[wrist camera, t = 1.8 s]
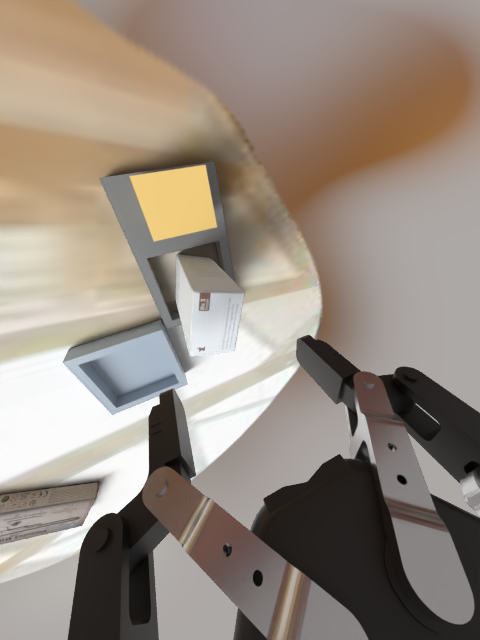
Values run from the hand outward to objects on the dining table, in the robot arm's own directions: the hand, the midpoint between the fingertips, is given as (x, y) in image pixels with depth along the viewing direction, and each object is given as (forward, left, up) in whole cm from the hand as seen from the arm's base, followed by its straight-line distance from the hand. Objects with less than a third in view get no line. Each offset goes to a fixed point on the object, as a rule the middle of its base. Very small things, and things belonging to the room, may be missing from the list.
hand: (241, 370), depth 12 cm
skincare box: (0, 0, -17) cm, 17 cm away
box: (+33, -38, -18) cm, 53 cm away
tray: (+10, -11, -17) cm, 22 cm away
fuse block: (-2, 0, -17) cm, 17 cm away
